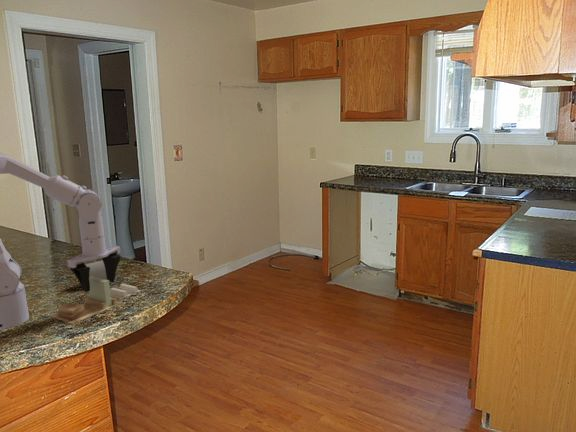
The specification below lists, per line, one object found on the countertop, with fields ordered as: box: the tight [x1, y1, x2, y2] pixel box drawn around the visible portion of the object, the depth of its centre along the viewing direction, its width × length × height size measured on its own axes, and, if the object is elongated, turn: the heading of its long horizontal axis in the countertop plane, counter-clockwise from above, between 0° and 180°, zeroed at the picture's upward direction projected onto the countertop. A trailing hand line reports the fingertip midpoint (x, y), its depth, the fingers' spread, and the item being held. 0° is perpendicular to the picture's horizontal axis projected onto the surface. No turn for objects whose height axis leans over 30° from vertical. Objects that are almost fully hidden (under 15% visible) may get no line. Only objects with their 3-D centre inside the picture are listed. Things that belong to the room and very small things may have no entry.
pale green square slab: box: [88, 276, 112, 307], centre depth 125 cm, size 2×7×7 cm, turn 58°
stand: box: [110, 283, 142, 300], centre depth 134 cm, size 7×6×2 cm
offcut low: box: [56, 310, 87, 321], centre depth 119 cm, size 4×6×1 cm, turn 58°
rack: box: [50, 296, 123, 325], centre depth 123 cm, size 15×9×2 cm, turn 148°
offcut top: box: [57, 302, 84, 315], centre depth 119 cm, size 4×5×1 cm
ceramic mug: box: [85, 259, 113, 284], centre depth 141 cm, size 11×8×8 cm
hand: (99, 285), depth 125 cm, fingers open, 7 cm apart
